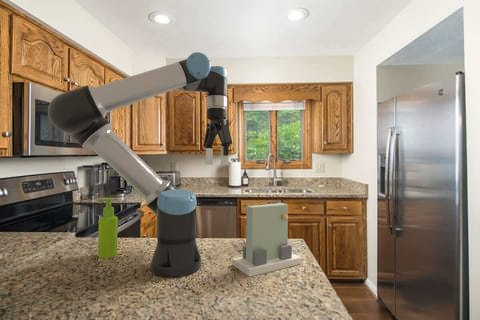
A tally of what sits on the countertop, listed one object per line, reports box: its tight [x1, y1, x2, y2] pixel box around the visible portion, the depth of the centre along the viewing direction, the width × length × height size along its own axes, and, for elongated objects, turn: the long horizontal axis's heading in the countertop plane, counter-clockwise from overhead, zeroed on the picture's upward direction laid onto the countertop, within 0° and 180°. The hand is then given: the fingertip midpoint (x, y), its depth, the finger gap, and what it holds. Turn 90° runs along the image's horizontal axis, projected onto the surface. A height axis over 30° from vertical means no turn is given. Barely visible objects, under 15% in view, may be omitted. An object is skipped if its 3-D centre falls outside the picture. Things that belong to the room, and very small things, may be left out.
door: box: [245, 202, 289, 264], centre depth 85 cm, size 14×5×17 cm, turn 121°
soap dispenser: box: [96, 197, 119, 260], centre depth 91 cm, size 6×7×20 cm
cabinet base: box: [231, 244, 302, 278], centre depth 85 cm, size 20×10×6 cm, turn 121°
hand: (216, 164), depth 100 cm, fingers open, 13 cm apart
